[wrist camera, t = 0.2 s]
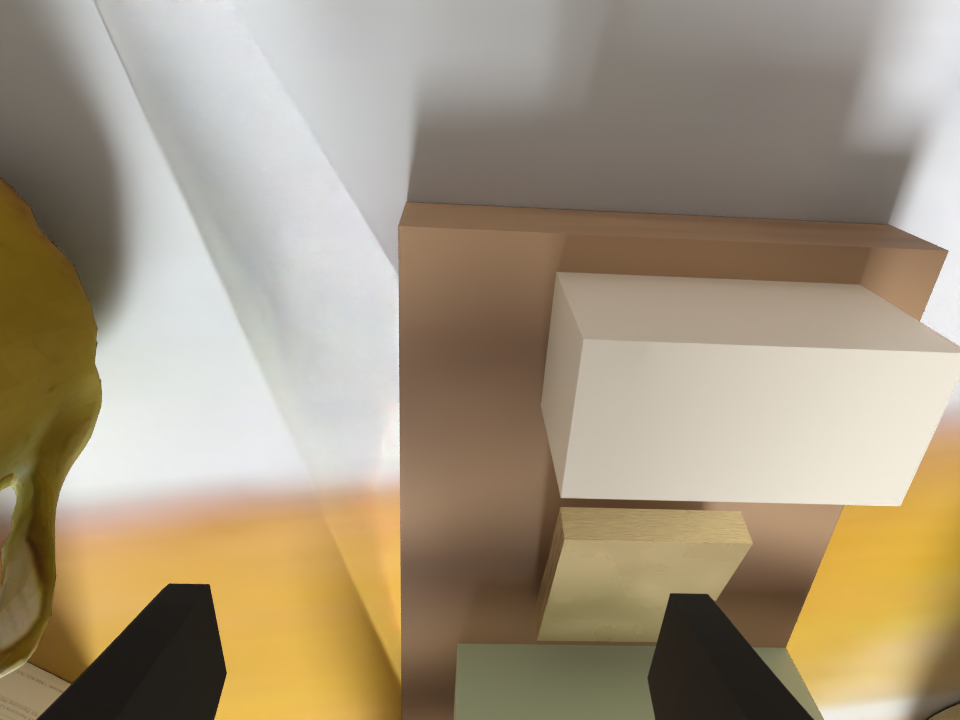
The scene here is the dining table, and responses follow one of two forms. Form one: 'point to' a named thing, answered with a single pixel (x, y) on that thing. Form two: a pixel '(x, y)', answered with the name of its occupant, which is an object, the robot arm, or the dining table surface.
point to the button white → (739, 390)
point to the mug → (38, 413)
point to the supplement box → (28, 692)
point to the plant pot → (948, 714)
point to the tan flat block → (632, 569)
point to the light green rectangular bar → (575, 682)
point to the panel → (519, 419)
